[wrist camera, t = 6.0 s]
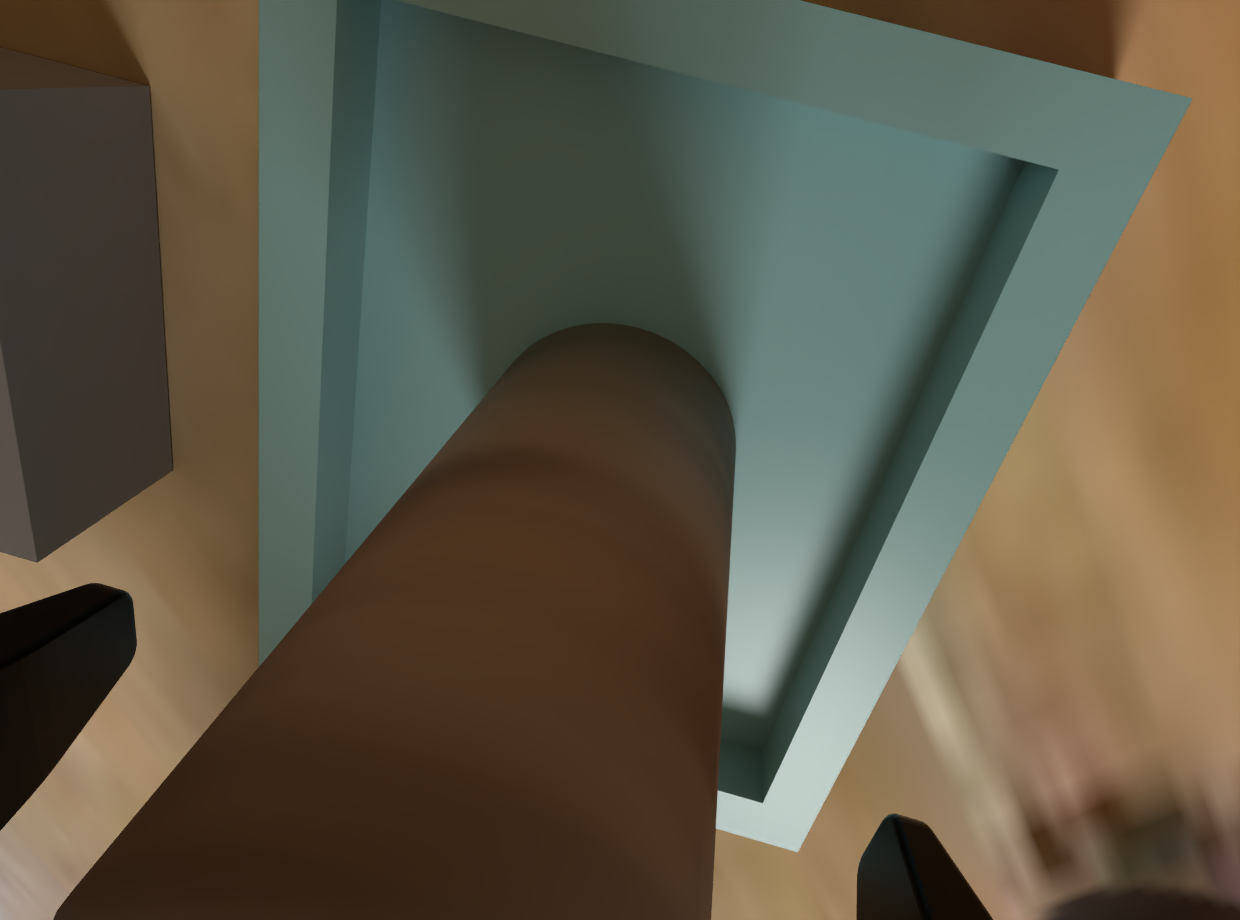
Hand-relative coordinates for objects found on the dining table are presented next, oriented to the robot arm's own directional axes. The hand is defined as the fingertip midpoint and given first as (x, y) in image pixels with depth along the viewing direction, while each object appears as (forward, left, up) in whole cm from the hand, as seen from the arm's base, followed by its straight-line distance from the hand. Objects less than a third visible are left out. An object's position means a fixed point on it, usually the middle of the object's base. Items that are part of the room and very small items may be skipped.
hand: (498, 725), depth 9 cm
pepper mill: (0, 0, -8) cm, 8 cm away
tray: (0, 0, -8) cm, 8 cm away
